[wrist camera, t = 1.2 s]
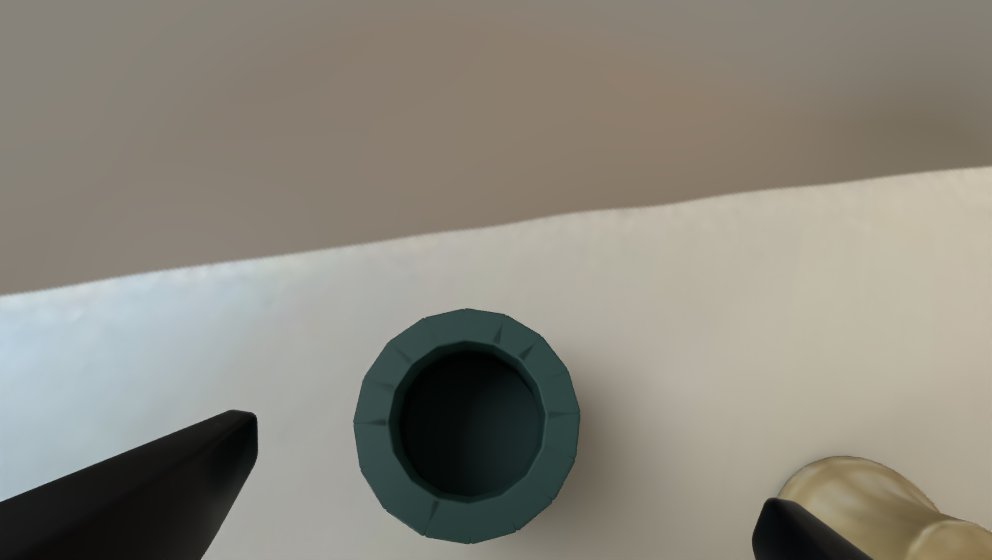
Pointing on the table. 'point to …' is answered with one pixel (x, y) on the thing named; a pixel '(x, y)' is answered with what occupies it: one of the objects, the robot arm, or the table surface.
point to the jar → (466, 426)
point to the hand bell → (883, 512)
